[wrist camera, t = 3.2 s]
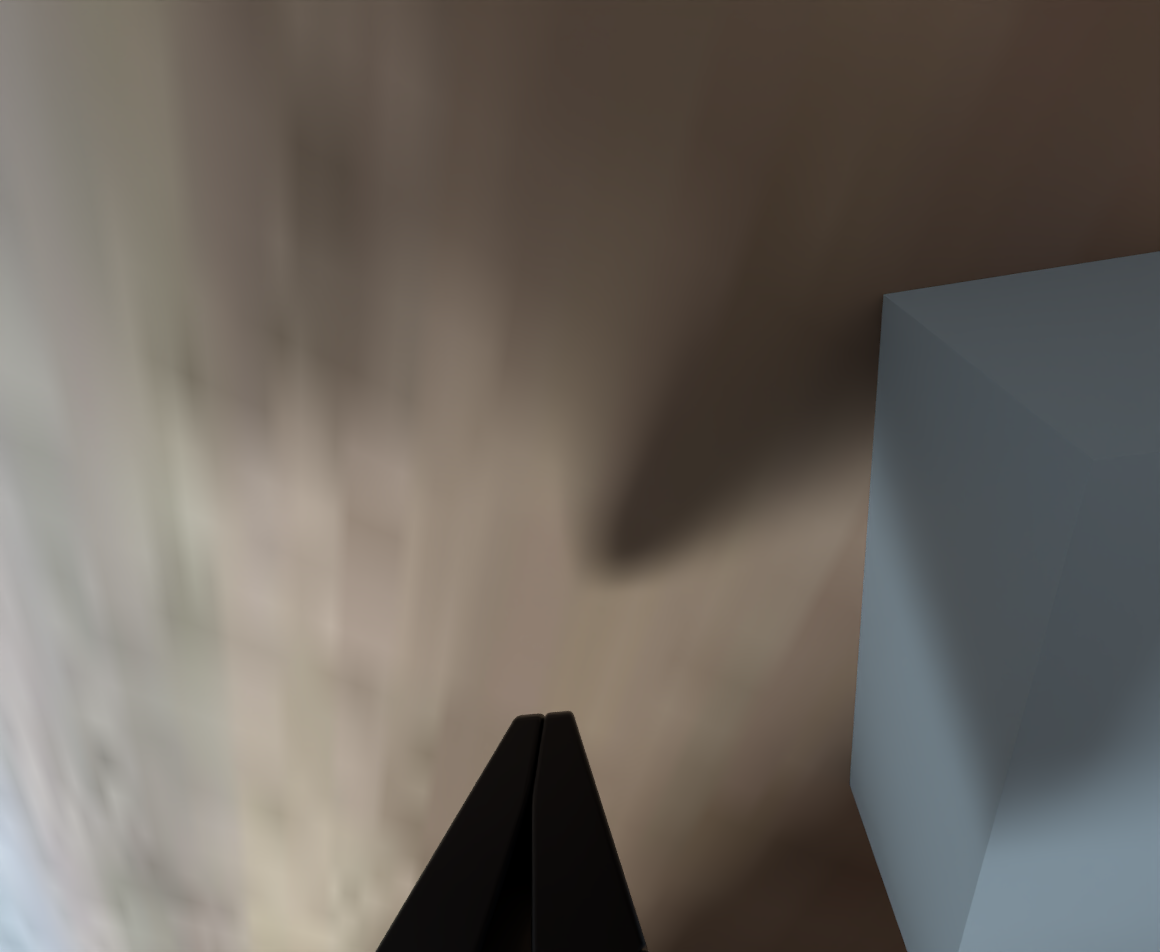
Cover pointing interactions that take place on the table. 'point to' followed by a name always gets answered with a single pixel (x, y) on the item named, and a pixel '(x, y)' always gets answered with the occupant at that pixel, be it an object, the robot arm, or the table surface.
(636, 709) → the table surface
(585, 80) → the table surface
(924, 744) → the t block
